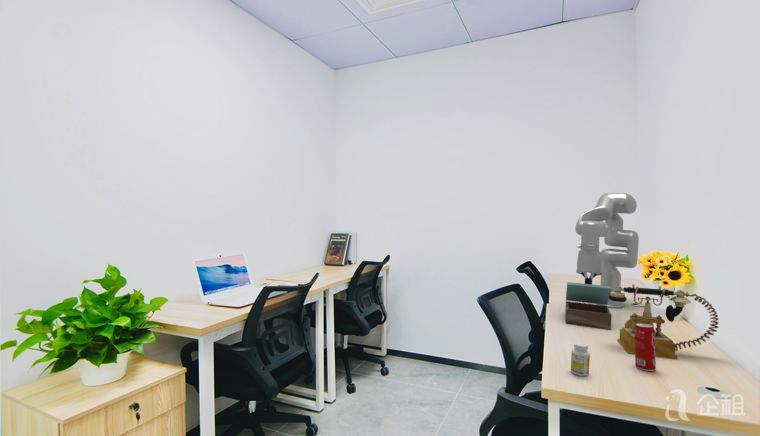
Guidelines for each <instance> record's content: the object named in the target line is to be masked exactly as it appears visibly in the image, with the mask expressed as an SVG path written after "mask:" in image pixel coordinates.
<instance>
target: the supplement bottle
mask: <svg viewBox="0 0 760 436" xmlns="http://www.w3.org/2000/svg"><path fill="white" fill-rule="evenodd" d="M573 347H574V348H572V349H571V358H570V372H571V373H572V374H574V375H577V376H580V377H585V376H586V377H587V376H589V374H590V373H589V372H590V358H591V354H590V352H589V345H588V344H587V343H584V342H579V341H576V342H574V344H573Z"/></svg>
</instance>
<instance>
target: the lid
mask: <svg viewBox="0 0 760 436" xmlns="http://www.w3.org/2000/svg"><path fill="white" fill-rule="evenodd" d="M610 292H611V286H603V285H601V284H593V283H592V284H585V283H581V282H569V281H567V283H566V293H565V301H569V302H578V303H586V304H595V305H598V304H602V305H607V304H608V300H609V295H610Z"/></svg>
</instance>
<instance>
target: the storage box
mask: <svg viewBox="0 0 760 436" xmlns="http://www.w3.org/2000/svg"><path fill="white" fill-rule="evenodd" d="M564 310H565V311H564V312H565V313H564V314H565V315H564V316H565V324H566V325H572V326H579V327H587V328H593V329H601V330H607V331H611V330H612V315H613V314H612V313H611V310H610V309H609V307H607V306H604V305H598V304H593V303H585V302H576V301H567V300H565V309H564Z"/></svg>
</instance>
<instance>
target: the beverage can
mask: <svg viewBox="0 0 760 436" xmlns="http://www.w3.org/2000/svg"><path fill="white" fill-rule="evenodd" d="M653 325H654V324H653ZM653 325H651V324H646V323H636V324H635V327H634V334H635V354H634V361H635V362H634V366H635V367H636V368H637V369H639V370H642V371H647V372H654V371H655V370H657V366H656V365H657V364H656V358H657V357H655V331H656V328H655V327H653Z"/></svg>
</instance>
